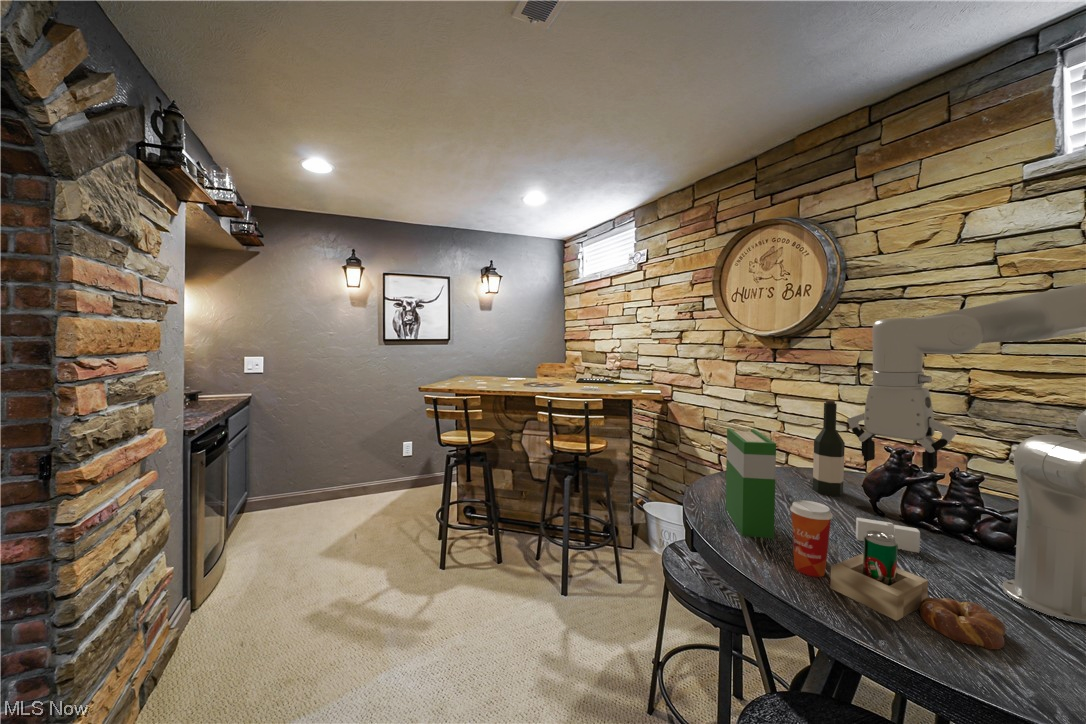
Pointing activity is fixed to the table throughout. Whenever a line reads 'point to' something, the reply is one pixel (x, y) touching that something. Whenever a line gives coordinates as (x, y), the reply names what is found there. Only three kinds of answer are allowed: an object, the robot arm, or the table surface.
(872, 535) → the soda can
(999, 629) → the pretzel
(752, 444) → the hardback book
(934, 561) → the table surface
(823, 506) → the paper cup
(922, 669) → the table surface
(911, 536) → the white stepped block
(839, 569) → the holder
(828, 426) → the wine bottle
